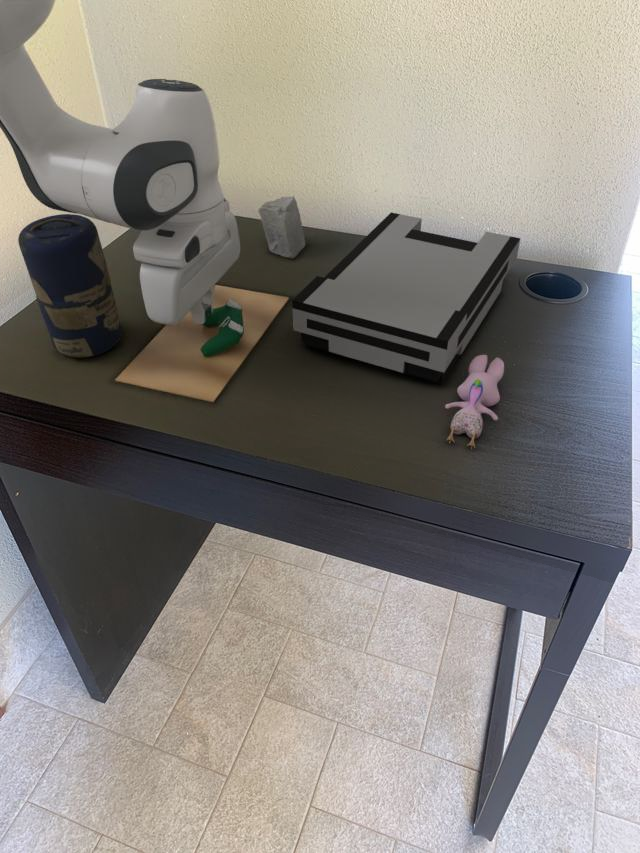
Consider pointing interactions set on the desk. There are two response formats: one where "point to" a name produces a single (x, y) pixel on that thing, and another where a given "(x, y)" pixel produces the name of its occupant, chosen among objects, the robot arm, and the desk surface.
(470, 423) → the rabbit figure
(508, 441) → the desk surface
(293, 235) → the mineral specimen
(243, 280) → the desk surface
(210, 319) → the gaming controller
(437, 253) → the game console
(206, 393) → the cork mat
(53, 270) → the canister
